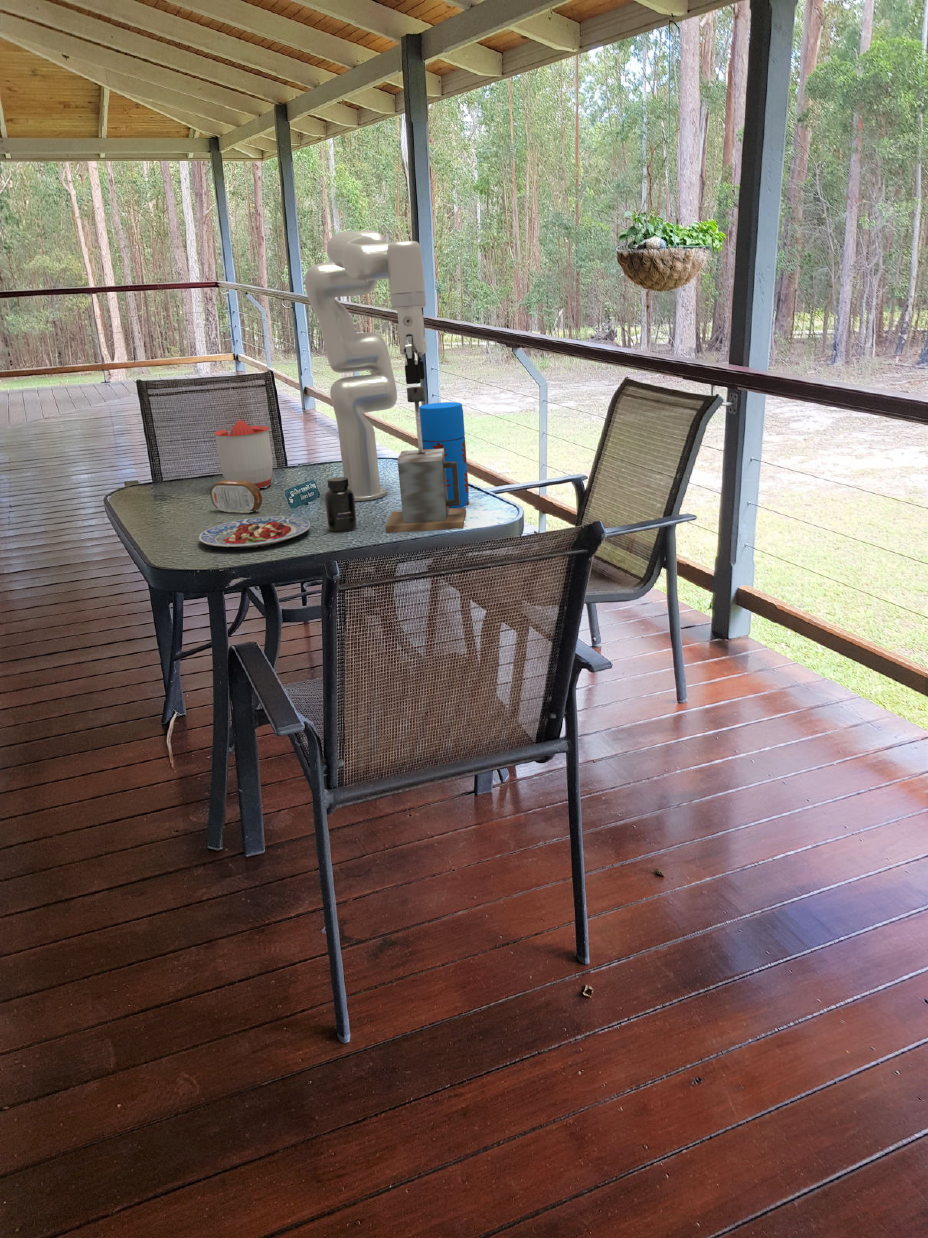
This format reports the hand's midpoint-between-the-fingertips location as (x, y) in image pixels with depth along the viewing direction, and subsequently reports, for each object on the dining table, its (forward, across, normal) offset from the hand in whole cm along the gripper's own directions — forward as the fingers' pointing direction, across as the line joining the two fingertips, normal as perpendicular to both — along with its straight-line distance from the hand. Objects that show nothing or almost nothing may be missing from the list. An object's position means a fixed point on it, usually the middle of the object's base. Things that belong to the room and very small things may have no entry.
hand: (415, 381), depth 217 cm
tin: (+32, +24, +52) cm, 66 cm away
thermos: (+33, +18, -4) cm, 38 cm away
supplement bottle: (+33, 0, +20) cm, 39 cm away
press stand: (+33, +1, 0) cm, 33 cm away
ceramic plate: (+33, -4, +40) cm, 52 cm away
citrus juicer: (+32, +55, +58) cm, 86 cm away
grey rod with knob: (+22, +1, 0) cm, 22 cm away
